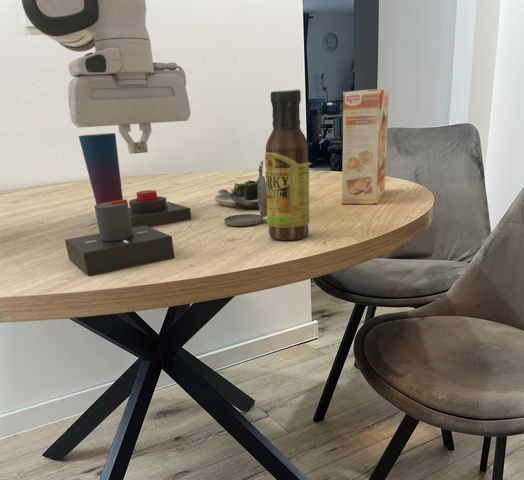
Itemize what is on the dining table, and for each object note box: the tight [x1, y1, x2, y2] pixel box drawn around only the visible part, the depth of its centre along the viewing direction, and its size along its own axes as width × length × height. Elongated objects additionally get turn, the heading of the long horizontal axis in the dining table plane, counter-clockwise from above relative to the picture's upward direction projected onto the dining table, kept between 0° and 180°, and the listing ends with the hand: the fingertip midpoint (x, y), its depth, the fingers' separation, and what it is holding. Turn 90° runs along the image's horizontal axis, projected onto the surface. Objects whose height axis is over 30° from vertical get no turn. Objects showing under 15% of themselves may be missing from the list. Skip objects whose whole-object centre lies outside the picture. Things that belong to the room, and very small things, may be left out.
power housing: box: [128, 195, 192, 228], centre depth 94 cm, size 12×10×4 cm
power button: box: [136, 189, 158, 202], centre depth 93 cm, size 4×4×2 cm
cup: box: [78, 132, 124, 205], centre depth 101 cm, size 7×7×15 cm
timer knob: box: [93, 198, 133, 241], centre depth 69 cm, size 4×4×5 cm
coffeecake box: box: [341, 88, 390, 205], centre depth 99 cm, size 15×7×20 cm, turn 162°
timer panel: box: [64, 225, 175, 277], centre depth 71 cm, size 12×10×3 cm
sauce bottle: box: [264, 88, 310, 241], centre depth 73 cm, size 6×6×20 cm
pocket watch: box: [223, 160, 267, 227], centre depth 86 cm, size 8×8×10 cm
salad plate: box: [214, 179, 259, 211], centre depth 106 cm, size 19×18×5 cm
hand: (138, 153), depth 89 cm, fingers closed
